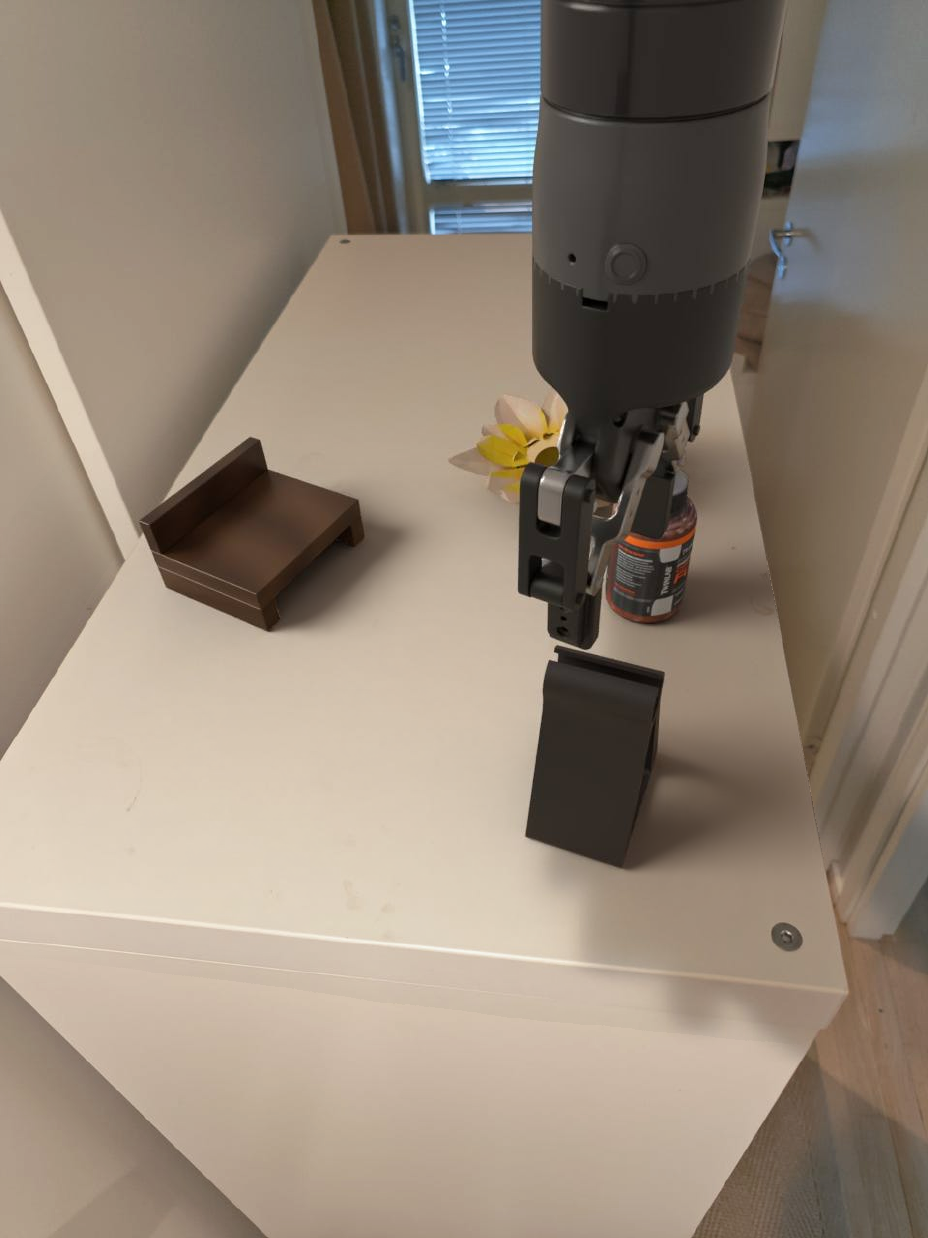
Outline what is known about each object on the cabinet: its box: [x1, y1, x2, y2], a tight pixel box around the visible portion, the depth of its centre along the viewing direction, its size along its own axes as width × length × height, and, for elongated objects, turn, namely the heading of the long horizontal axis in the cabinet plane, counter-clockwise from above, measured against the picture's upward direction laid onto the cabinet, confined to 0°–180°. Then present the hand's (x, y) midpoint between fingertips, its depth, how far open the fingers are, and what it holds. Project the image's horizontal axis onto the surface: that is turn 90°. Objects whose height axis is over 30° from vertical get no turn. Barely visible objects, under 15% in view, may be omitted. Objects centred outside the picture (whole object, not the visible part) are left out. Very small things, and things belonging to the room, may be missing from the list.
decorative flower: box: [447, 387, 612, 508], centre depth 73 cm, size 15×11×10 cm
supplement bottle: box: [604, 469, 698, 624], centre depth 62 cm, size 6×6×11 cm
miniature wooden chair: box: [138, 436, 366, 632], centre depth 69 cm, size 13×11×7 cm
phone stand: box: [524, 644, 666, 869], centre depth 49 cm, size 9×6×12 cm, turn 157°
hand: (610, 582), depth 41 cm, fingers open, 8 cm apart
